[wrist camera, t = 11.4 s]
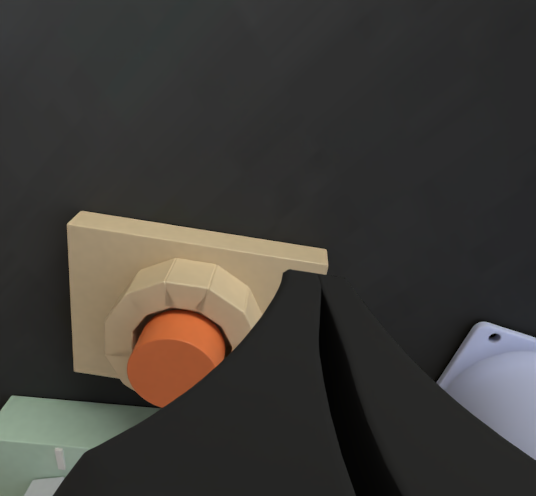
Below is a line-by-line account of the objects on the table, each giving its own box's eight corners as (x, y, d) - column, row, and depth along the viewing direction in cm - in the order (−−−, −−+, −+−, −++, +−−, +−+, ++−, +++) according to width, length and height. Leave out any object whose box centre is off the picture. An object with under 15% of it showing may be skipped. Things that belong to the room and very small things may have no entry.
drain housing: (327, 248, 21) (331, 290, 18) (296, 384, 25) (295, 438, 22) (80, 210, 21) (43, 245, 18) (85, 352, 25) (55, 402, 22)
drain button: (230, 316, 20) (223, 346, 18) (221, 383, 21) (214, 416, 19) (142, 302, 20) (127, 331, 18) (140, 371, 21) (125, 403, 19)
